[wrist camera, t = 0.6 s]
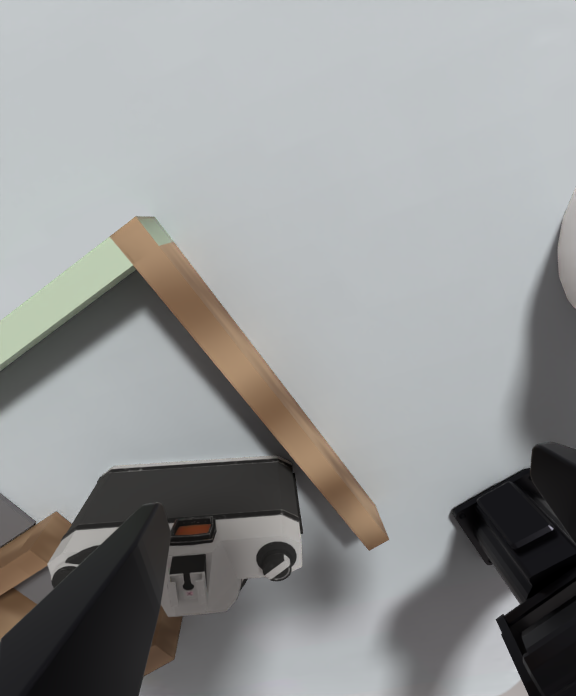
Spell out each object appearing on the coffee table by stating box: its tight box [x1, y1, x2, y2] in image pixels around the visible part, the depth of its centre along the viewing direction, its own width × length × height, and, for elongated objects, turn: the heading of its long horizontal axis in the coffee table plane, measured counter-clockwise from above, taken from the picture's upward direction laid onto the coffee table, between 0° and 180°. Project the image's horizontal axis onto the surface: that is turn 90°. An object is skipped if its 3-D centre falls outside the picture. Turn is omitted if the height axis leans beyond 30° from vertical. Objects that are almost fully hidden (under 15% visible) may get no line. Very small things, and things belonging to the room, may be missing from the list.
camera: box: [47, 455, 303, 617], centre depth 21 cm, size 13×8×9 cm, turn 94°
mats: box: [0, 494, 54, 604], centre depth 25 cm, size 20×5×1 cm, turn 34°
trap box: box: [0, 216, 389, 677], centre depth 23 cm, size 24×26×3 cm
